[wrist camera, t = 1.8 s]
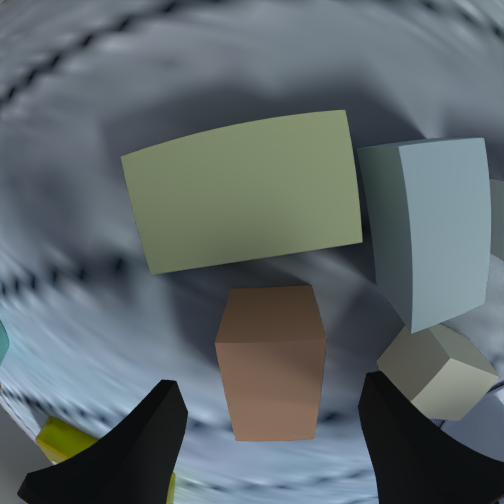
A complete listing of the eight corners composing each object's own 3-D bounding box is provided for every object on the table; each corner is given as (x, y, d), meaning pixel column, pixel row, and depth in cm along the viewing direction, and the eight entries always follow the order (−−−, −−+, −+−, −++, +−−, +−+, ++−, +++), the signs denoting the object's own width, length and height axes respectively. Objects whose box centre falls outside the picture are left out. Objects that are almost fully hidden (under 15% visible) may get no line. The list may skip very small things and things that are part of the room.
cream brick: (469, 338, 13) (500, 377, 9) (436, 379, 14) (459, 421, 10) (414, 309, 12) (450, 357, 8) (375, 360, 13) (397, 413, 9)
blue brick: (437, 265, 11) (484, 304, 7) (375, 283, 12) (411, 333, 8) (425, 138, 9) (483, 137, 6) (355, 148, 10) (398, 146, 6)
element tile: (46, 408, 19) (26, 437, 14) (177, 464, 19) (166, 504, 15) (77, 461, 24) (65, 484, 19) (174, 500, 24) (167, 526, 20)
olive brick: (318, 126, 10) (345, 109, 6) (331, 212, 11) (362, 242, 7) (169, 154, 10) (120, 156, 7) (187, 236, 11) (151, 274, 8)
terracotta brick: (307, 380, 14) (313, 438, 10) (243, 382, 14) (236, 440, 10) (311, 283, 12) (326, 338, 8) (231, 287, 12) (214, 342, 8)
